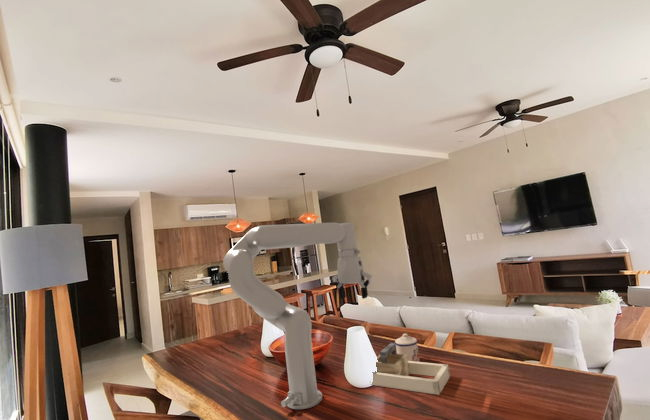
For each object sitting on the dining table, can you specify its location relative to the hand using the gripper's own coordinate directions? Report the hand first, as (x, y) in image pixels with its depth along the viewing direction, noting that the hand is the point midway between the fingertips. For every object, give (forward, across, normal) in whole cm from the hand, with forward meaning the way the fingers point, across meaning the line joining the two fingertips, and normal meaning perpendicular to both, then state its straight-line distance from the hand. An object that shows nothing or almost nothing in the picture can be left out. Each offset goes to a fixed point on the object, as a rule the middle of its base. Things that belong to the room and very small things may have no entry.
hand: (353, 298), depth 128 cm
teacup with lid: (+31, -11, -20) cm, 38 cm away
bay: (+30, -18, -1) cm, 35 cm away
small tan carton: (+29, -11, -1) cm, 31 cm away
